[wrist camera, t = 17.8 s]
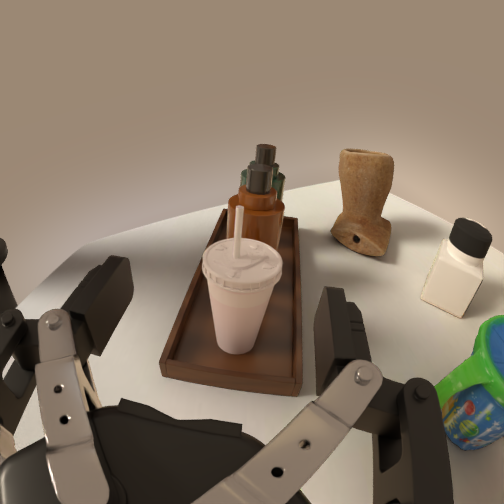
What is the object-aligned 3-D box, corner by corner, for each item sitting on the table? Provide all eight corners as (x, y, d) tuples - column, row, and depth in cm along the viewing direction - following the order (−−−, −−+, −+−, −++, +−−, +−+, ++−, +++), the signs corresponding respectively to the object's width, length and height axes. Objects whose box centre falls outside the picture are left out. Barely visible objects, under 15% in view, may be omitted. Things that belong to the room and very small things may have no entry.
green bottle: (227, 237, 46) (234, 144, 38) (252, 224, 50) (261, 139, 43) (260, 254, 43) (272, 154, 36) (284, 238, 47) (297, 148, 40)
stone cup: (336, 210, 60) (350, 137, 52) (392, 229, 56) (412, 155, 48) (310, 240, 49) (327, 148, 41) (381, 266, 44) (409, 172, 36)
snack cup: (405, 474, 18) (479, 415, 12) (397, 379, 27) (443, 304, 21) (521, 454, 16) (586, 396, 11) (502, 382, 25) (549, 319, 19)
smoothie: (196, 322, 31) (195, 192, 24) (255, 312, 33) (272, 188, 26) (211, 371, 26) (213, 232, 19) (278, 357, 28) (307, 224, 21)
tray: (297, 397, 25) (302, 384, 24) (161, 376, 26) (158, 362, 24) (295, 229, 51) (297, 217, 50) (222, 220, 52) (223, 208, 51)
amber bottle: (214, 278, 37) (218, 165, 30) (245, 259, 42) (255, 156, 34) (253, 301, 35) (267, 181, 27) (282, 278, 39) (300, 169, 31)
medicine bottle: (461, 320, 34) (499, 245, 28) (419, 299, 38) (452, 222, 31) (464, 294, 39) (495, 227, 33) (427, 276, 43) (454, 207, 36)
